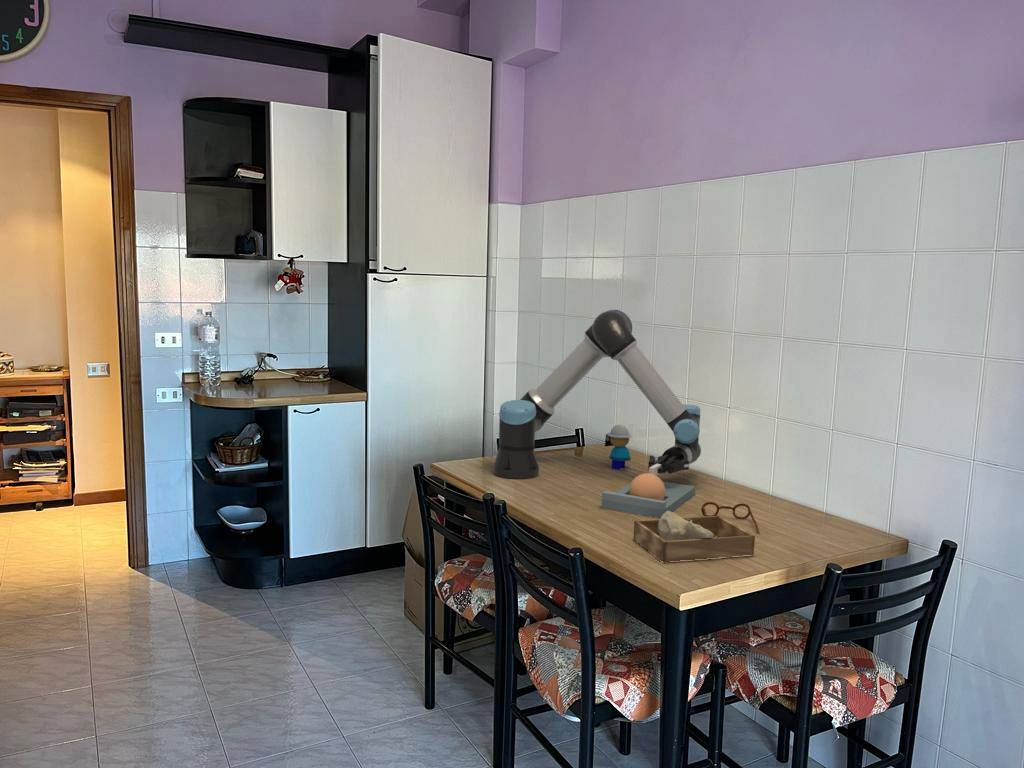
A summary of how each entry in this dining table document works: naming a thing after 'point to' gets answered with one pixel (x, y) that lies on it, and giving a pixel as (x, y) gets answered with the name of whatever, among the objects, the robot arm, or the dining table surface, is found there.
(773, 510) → the dining table surface
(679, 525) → the beige irregular lump
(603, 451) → the dining table surface
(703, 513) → the glasses
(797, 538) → the dining table surface
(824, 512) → the dining table surface
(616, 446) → the toy
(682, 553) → the wooden tray
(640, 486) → the ball
